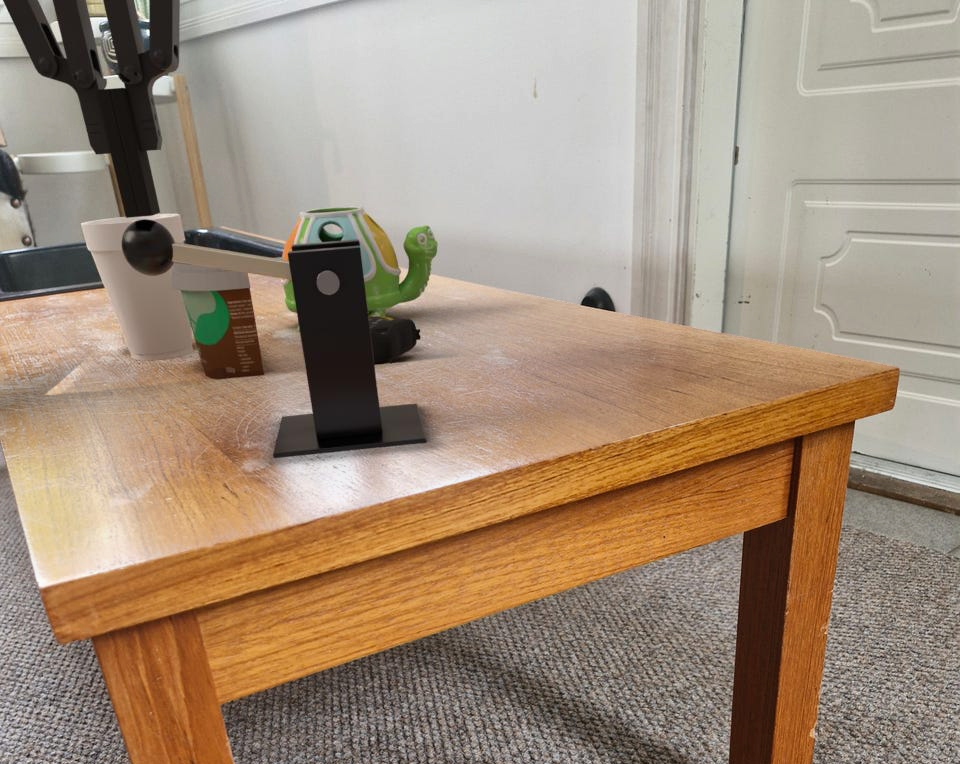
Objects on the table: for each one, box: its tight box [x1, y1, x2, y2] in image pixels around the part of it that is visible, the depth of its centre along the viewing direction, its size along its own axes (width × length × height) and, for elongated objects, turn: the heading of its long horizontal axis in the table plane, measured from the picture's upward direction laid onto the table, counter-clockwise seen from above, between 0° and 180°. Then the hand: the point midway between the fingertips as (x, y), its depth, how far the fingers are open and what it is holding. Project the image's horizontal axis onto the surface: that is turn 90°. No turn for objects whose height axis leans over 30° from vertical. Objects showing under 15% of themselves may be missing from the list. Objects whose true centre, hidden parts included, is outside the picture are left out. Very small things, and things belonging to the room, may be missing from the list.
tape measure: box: [369, 316, 421, 364], centre depth 84 cm, size 7×7×4 cm
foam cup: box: [80, 213, 194, 361], centre depth 92 cm, size 10×9×13 cm
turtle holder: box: [280, 205, 438, 333], centre depth 101 cm, size 12×18×12 cm
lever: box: [122, 219, 292, 280], centre depth 56 cm, size 14×3×3 cm, turn 97°
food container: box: [172, 249, 265, 380], centre depth 83 cm, size 12×6×10 cm, turn 21°
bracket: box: [272, 239, 427, 459], centre depth 60 cm, size 10×9×13 cm
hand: (143, 214), depth 54 cm, fingers closed
